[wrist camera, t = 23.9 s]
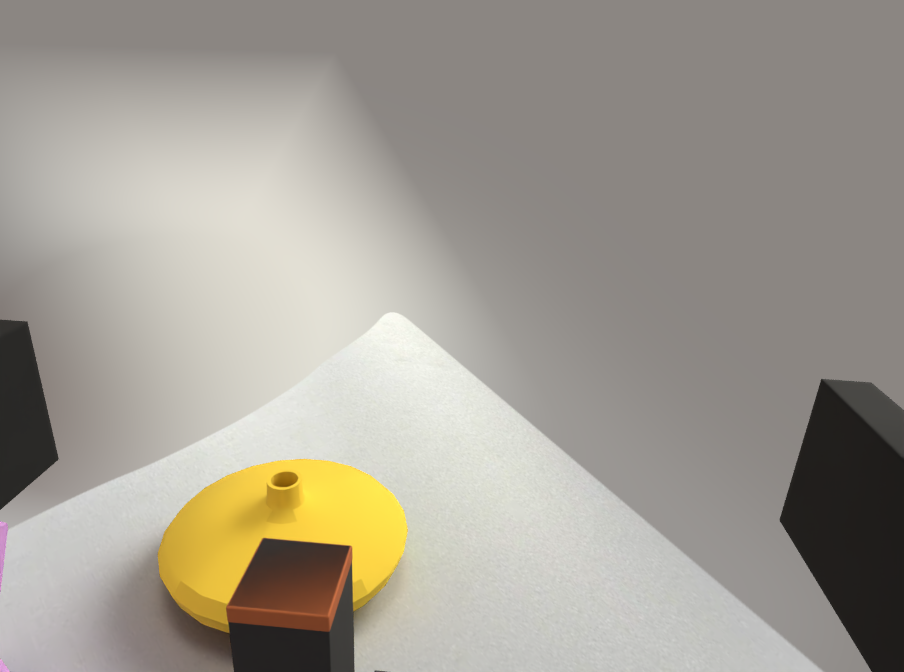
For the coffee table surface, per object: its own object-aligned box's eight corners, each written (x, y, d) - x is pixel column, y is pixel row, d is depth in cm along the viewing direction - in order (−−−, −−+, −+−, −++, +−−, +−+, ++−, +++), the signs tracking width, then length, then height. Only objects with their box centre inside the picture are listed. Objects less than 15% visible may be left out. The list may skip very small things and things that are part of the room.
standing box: (356, 719, 32) (352, 544, 28) (336, 803, 28) (329, 617, 24) (277, 710, 32) (262, 536, 28) (247, 793, 29) (224, 607, 24)
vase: (406, 663, 37) (409, 567, 34) (121, 669, 35) (100, 570, 33) (407, 494, 51) (408, 417, 48) (204, 494, 50) (194, 415, 47)
